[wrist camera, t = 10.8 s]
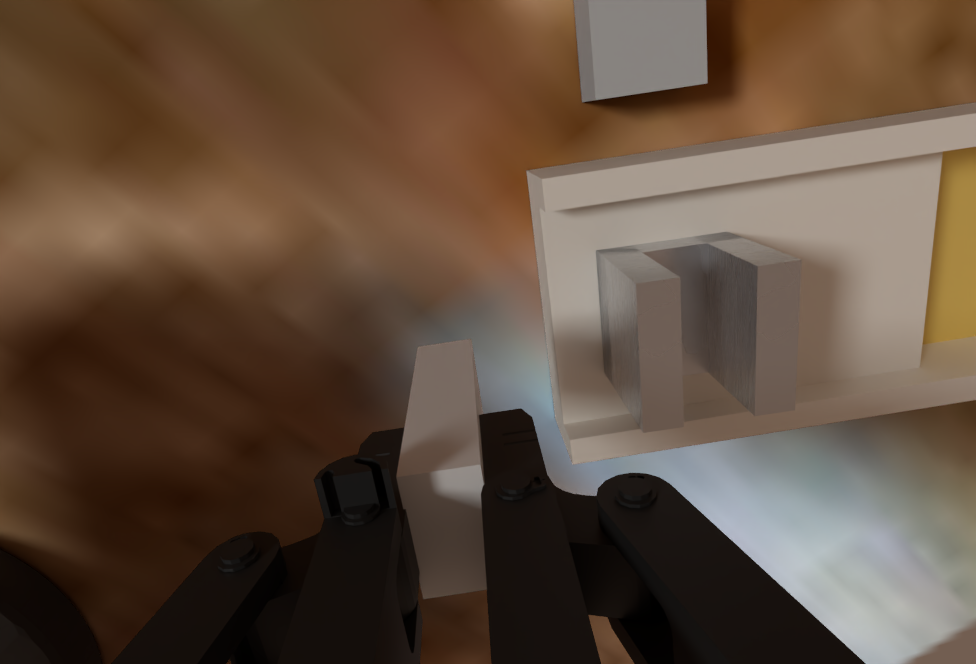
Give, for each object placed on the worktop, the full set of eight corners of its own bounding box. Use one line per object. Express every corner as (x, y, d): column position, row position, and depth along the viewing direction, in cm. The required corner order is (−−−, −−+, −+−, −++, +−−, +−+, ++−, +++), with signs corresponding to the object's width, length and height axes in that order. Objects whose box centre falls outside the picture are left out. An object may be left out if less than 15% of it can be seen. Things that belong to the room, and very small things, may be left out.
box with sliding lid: (555, 418, 25) (572, 464, 21) (526, 170, 22) (541, 178, 18) (1084, 334, 25) (1183, 366, 22) (1135, 78, 22) (1262, 69, 19)
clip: (604, 372, 22) (642, 433, 17) (595, 250, 20) (635, 283, 16) (726, 354, 22) (795, 410, 18) (727, 231, 20) (801, 259, 16)
